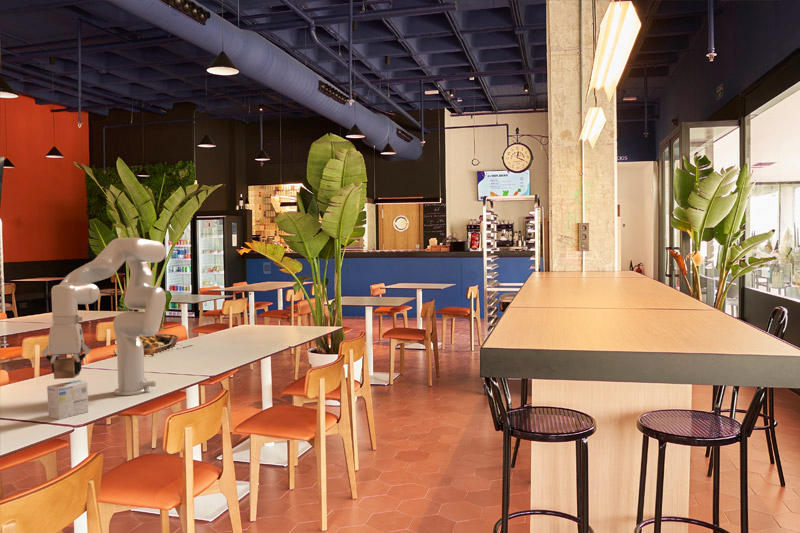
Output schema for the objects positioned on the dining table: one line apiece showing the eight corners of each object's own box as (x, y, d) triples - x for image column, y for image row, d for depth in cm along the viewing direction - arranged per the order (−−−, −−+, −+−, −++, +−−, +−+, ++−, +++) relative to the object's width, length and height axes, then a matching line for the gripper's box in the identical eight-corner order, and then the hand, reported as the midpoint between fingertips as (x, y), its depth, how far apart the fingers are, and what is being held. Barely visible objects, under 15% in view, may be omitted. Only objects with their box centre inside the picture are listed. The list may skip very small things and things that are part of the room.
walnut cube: (79, 374, 210) (79, 357, 210) (73, 378, 204) (72, 360, 204) (60, 375, 209) (60, 357, 209) (54, 378, 203) (53, 361, 203)
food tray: (155, 345, 356) (155, 326, 356) (193, 346, 349) (192, 327, 349) (112, 356, 322) (111, 336, 322) (152, 357, 315) (152, 337, 315)
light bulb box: (78, 409, 214) (76, 379, 213) (89, 412, 210) (88, 381, 210) (47, 417, 204) (46, 385, 204) (58, 420, 201) (57, 387, 201)
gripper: (96, 318, 211) (97, 370, 212) (42, 320, 208) (43, 372, 209) (88, 321, 204) (90, 374, 205) (32, 323, 201) (34, 377, 201)
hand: (67, 373), depth 207 cm, fingers closed on walnut cube, 6 cm apart
